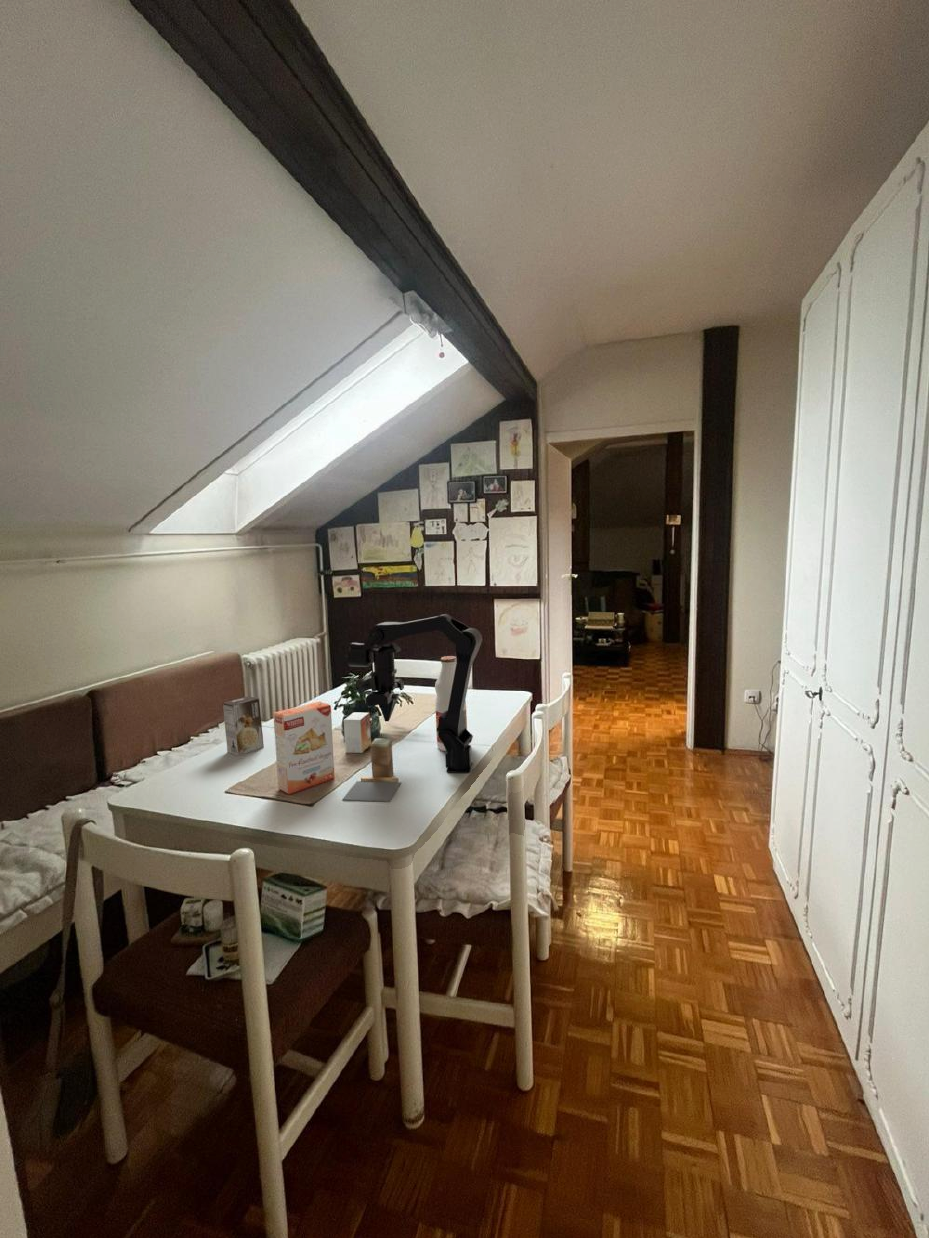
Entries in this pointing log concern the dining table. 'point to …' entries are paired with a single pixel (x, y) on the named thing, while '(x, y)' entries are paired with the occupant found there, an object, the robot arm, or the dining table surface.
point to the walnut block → (382, 758)
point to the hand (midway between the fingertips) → (387, 720)
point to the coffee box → (243, 725)
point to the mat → (372, 791)
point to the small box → (357, 732)
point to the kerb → (379, 779)
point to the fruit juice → (445, 691)
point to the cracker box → (303, 746)
